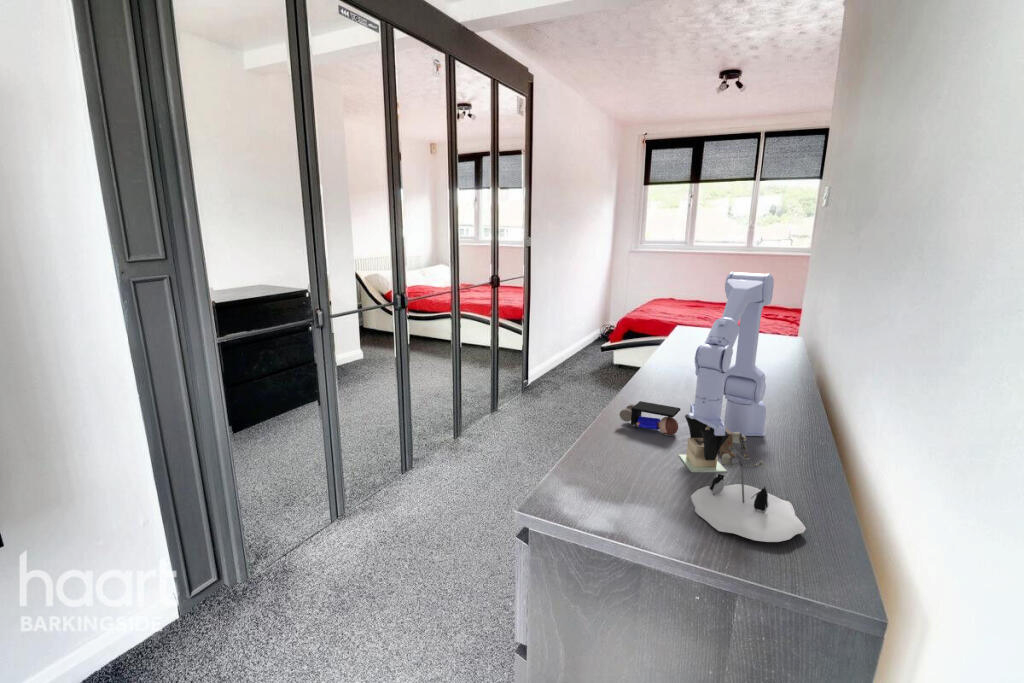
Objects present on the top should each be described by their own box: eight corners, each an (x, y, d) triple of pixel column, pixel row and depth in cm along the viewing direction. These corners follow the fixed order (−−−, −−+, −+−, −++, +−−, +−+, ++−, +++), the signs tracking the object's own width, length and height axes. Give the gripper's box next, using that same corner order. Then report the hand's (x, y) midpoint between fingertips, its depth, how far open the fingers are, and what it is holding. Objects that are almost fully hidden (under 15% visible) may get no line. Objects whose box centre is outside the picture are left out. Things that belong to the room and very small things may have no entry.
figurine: (830, 534, 82) (835, 445, 80) (746, 554, 77) (750, 460, 74) (743, 487, 101) (746, 414, 99) (671, 501, 96) (672, 424, 93)
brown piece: (713, 436, 124) (715, 415, 123) (734, 457, 112) (737, 434, 111) (702, 436, 124) (704, 415, 123) (722, 457, 112) (725, 433, 111)
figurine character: (619, 432, 130) (674, 440, 121) (617, 406, 128) (673, 412, 119) (628, 424, 135) (681, 432, 126) (627, 399, 134) (681, 404, 125)
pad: (711, 456, 113) (711, 454, 112) (726, 472, 105) (726, 470, 105) (678, 455, 112) (678, 454, 112) (691, 472, 105) (691, 470, 105)
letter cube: (707, 457, 111) (709, 437, 110) (716, 467, 106) (718, 446, 105) (686, 457, 111) (688, 437, 110) (694, 467, 106) (696, 446, 105)
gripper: (679, 386, 112) (674, 438, 115) (704, 407, 98) (698, 466, 101) (708, 386, 112) (703, 438, 115) (737, 407, 98) (730, 466, 101)
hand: (702, 451), depth 108 cm, fingers open, 7 cm apart
